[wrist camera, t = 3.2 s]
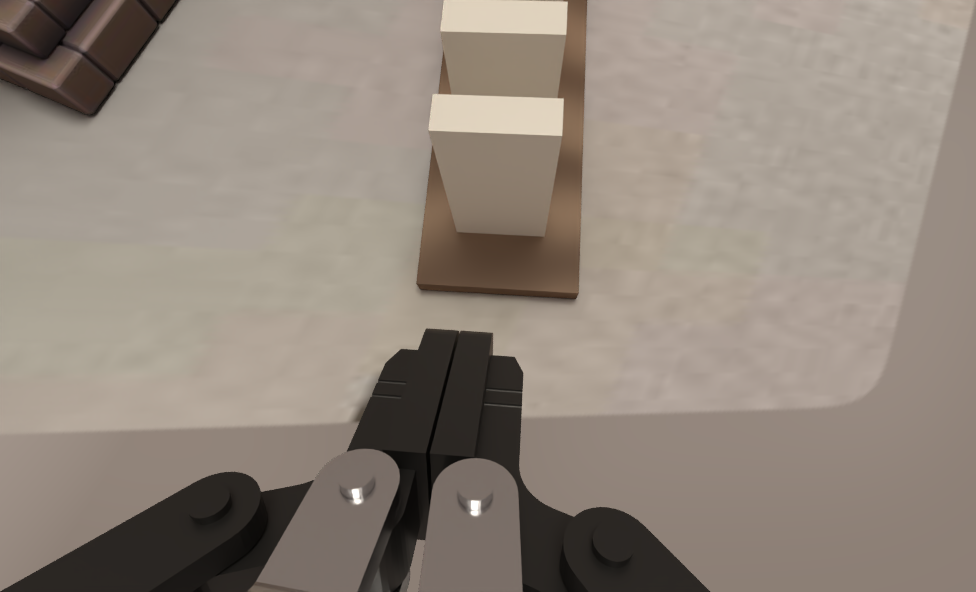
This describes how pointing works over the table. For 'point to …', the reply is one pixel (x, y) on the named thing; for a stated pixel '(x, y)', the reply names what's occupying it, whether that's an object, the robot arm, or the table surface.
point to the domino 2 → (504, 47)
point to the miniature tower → (74, 45)
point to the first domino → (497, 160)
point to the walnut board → (514, 257)
